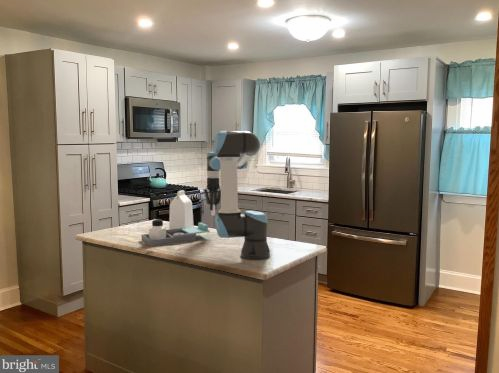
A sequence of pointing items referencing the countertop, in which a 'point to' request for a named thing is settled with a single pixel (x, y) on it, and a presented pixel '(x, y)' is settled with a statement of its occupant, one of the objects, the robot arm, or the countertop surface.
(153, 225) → the medicine bottle
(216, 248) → the countertop surface
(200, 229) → the lid
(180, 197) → the milk
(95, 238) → the countertop surface
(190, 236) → the housing
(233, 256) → the countertop surface
